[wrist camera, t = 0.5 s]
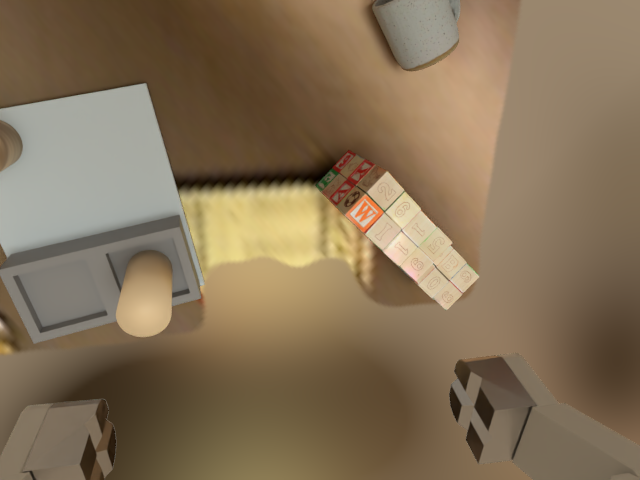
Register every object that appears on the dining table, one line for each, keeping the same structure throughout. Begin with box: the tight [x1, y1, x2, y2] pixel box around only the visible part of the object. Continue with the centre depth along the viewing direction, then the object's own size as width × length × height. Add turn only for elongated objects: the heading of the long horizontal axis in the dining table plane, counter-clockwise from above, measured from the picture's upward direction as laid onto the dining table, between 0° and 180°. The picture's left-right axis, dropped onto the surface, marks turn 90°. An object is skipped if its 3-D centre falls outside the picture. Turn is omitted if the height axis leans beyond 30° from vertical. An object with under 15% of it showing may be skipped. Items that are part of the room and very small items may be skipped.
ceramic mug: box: [372, 0, 460, 71], centre depth 50 cm, size 11×8×8 cm
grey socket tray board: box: [0, 83, 205, 343], centre depth 45 cm, size 24×19×14 cm
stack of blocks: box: [316, 150, 479, 310], centre depth 57 cm, size 21×6×12 cm, turn 44°
